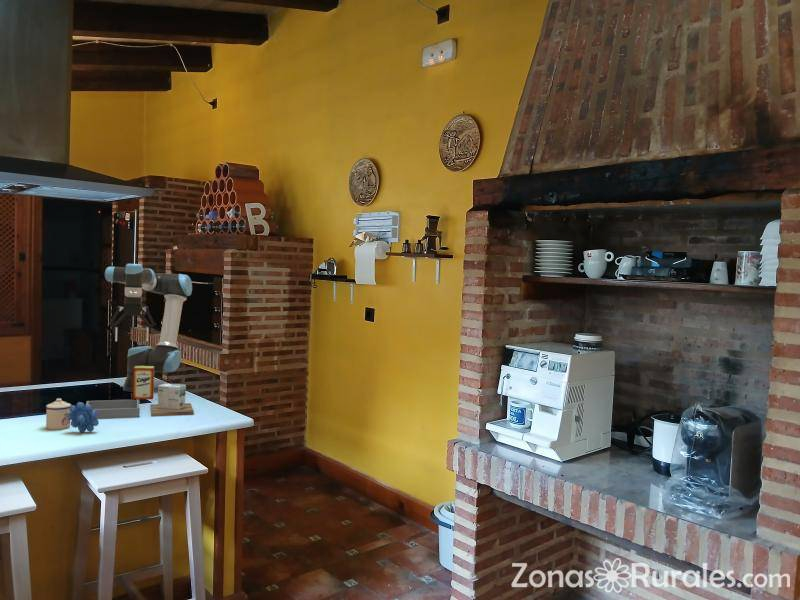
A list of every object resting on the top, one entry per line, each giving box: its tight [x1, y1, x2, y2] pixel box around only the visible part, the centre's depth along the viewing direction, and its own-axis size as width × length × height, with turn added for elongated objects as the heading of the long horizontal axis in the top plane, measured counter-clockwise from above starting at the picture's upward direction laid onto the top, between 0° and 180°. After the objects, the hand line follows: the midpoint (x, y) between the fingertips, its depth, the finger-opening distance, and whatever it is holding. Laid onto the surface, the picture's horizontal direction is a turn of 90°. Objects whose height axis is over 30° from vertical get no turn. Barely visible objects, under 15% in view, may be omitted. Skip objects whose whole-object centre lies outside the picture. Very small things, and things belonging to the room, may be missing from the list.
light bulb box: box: [157, 383, 187, 410], centre depth 290 cm, size 11×7×11 cm, turn 84°
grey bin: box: [85, 399, 140, 420], centre depth 281 cm, size 19×22×4 cm
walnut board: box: [150, 402, 195, 417], centre depth 291 cm, size 18×18×2 cm
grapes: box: [67, 401, 100, 433], centre depth 247 cm, size 12×7×12 cm, turn 100°
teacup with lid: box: [45, 398, 72, 431], centre depth 255 cm, size 12×9×12 cm
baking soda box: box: [131, 366, 155, 400], centre depth 315 cm, size 10×6×16 cm
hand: (131, 341), depth 297 cm, fingers open, 13 cm apart
